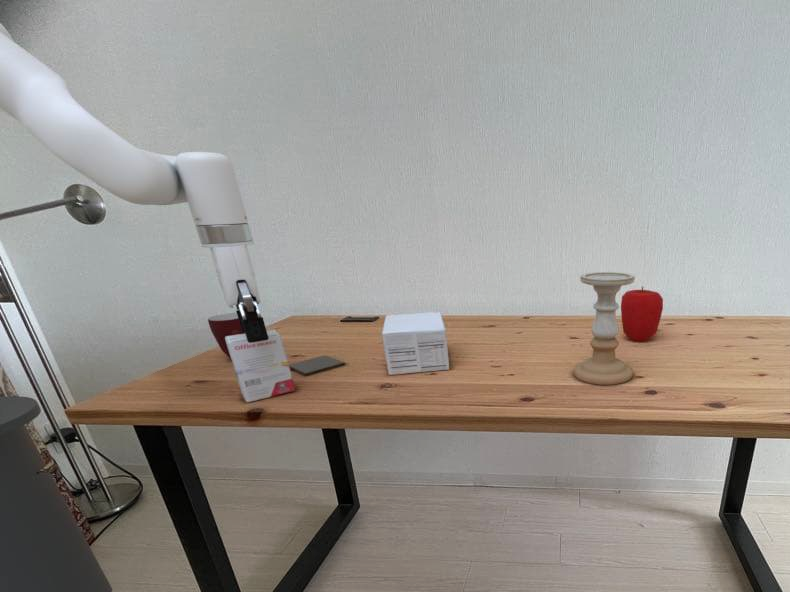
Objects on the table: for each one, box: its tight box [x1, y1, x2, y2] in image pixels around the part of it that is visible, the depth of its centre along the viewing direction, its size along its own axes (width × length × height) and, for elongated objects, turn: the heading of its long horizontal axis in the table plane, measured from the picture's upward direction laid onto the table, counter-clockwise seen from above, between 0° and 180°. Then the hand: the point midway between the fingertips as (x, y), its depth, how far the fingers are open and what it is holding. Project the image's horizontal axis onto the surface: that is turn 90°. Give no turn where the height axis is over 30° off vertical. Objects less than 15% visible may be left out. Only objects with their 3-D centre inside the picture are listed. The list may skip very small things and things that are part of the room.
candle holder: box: [573, 271, 636, 386], centre depth 91 cm, size 12×12×20 cm
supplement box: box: [381, 311, 450, 376], centre depth 103 cm, size 17×13×9 cm
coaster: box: [288, 354, 346, 377], centre depth 103 cm, size 9×9×1 cm
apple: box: [620, 286, 664, 343], centre depth 117 cm, size 10×10×14 cm
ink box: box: [225, 328, 296, 403], centre depth 86 cm, size 9×5×12 cm, turn 128°
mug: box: [207, 312, 245, 360], centre depth 107 cm, size 10×8×10 cm
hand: (255, 335), depth 83 cm, fingers open, 9 cm apart
